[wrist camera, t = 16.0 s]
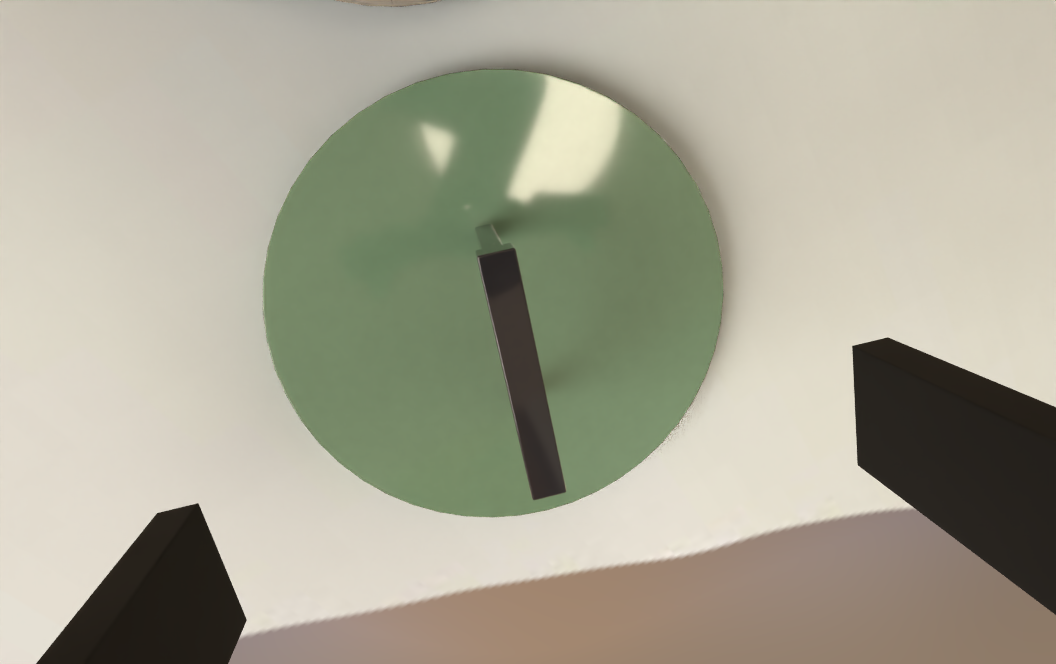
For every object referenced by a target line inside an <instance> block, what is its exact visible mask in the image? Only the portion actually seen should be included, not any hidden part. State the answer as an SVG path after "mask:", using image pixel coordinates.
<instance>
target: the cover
mask: <svg viewBox="0 0 1056 664" xmlns="http://www.w3.org/2000/svg"><path fill="white" fill-rule="evenodd" d="M722 303H723V276H722V263H721V257H720V251H719V246H718V240H717V236H716V233H715V229H714V226H713V223H712V220H711V217H710V214H709V210H708V208H707V206H706V204H705V202H704V200H703V198H702V195H701V193H700V191H699V189H698V187H697V185H696V183H695V181H694V180H693V178H692V177H691V175H690V174H689V172H688V171H687V169H686V168H685V166H684V165H683V163H682V161H681V160H680V158H679V157H678V156H677V155H676V154H675V153H674V151H673V150H672V149H671V148H670V147H669V146H668V145H667V143H666V142H665V141H664V140H663V139H662V138H661V137H660V135H659V134H657V133H656V132H655V131H654V130H653V129H652V128H651V127H649V126H648V125H647V124H646V123H645V122H644V121H642V120H641V119H640V118H639V117H638V116H637V115H635V114H634V113H632V112H631V111H629V110H628V109H626V108H625V107H623V106H622V105H620V104H619V103H617V102H615V101H614V100H612V99H611V98H609V97H607V96H605V95H603V94H601V93H598V92H596V91H594V90H592V89H590V88H588V87H586V86H583V85H581V84H579V83H575V82H572V81H569V80H565V79H562V78H559V77H555V76H552V75H549V74H542V73H536V72H529V71H523V70H516V69H479V70H472V71H464V72H457V73H449V74H445V75H442V76H438V77H435V78H431V79H428V80H424V81H420V82H417V83H414V84H412V85H410V86H408V87H405V88H403V89H401V90H399V91H396V92H394V93H392V94H390V95H387V96H385V97H383V98H382V99H380V100H379V101H377V102H375V103H374V104H372V105H371V106H369V107H367V108H366V109H364V110H363V111H361V112H359V113H358V114H356V115H355V116H354V117H353V118H352V119H350V120H349V121H348V122H347V123H346V124H345V125H343V126H342V127H341V128H340V129H339V130H337V131H336V132H335V133H334V134H333V135H332V136H331V137H330V138H329V139H328V140H327V141H326V142H325V143H324V144H323V146H322V147H321V148H320V149H319V150H318V151H317V152H316V153H315V155H314V156H313V157H312V158H311V159H310V160H309V161H308V163H307V165H306V166H305V168H304V169H303V171H302V172H301V174H300V175H299V177H298V178H297V180H296V181H295V183H294V184H293V186H292V187H291V189H290V191H289V193H288V195H287V198H286V200H285V202H284V204H283V206H282V208H281V210H280V213H279V215H278V217H277V220H276V223H275V226H274V230H273V233H272V236H271V239H270V243H269V246H268V251H267V257H266V264H265V270H264V277H263V315H264V323H265V330H266V338H267V343H268V346H269V350H270V353H271V357H272V361H273V364H274V368H275V371H276V373H277V375H278V378H279V380H280V382H281V385H282V387H283V389H284V391H285V394H286V396H287V398H288V399H289V401H290V403H291V404H292V406H293V408H294V409H295V411H296V413H297V414H298V416H299V418H300V419H301V421H302V422H303V424H304V425H305V426H306V427H307V429H308V430H309V431H310V432H311V434H312V435H313V436H314V437H315V439H316V440H317V441H318V442H319V444H320V445H322V446H323V447H324V448H325V449H326V450H327V451H328V452H329V453H330V454H331V455H332V456H333V457H334V458H335V459H336V460H337V461H338V462H339V463H340V464H342V465H343V466H344V467H346V468H347V469H348V470H350V471H351V472H352V473H354V474H355V475H356V476H358V477H359V478H360V479H362V480H363V481H365V482H367V483H369V484H370V485H372V486H374V487H376V488H377V489H379V490H381V491H383V492H384V493H386V494H388V495H391V496H393V497H396V498H398V499H400V500H403V501H405V502H408V503H410V504H412V505H416V506H419V507H423V508H427V509H430V510H434V511H437V512H442V513H449V514H455V515H461V516H473V517H504V516H518V515H524V514H530V513H535V512H540V511H545V510H549V509H552V508H556V507H559V506H562V505H565V504H568V503H572V502H574V501H576V500H579V499H581V498H583V497H586V496H588V495H590V494H592V493H595V492H597V491H599V490H600V489H602V488H604V487H606V486H607V485H609V484H611V483H612V482H614V481H616V480H618V479H619V478H621V477H622V476H623V475H625V474H626V473H628V472H629V471H630V470H632V469H633V468H634V467H636V466H637V465H638V464H640V463H641V462H642V461H643V460H644V459H645V458H646V457H647V456H649V455H650V454H651V453H652V452H653V451H654V450H655V449H656V448H657V447H658V446H659V445H660V444H661V443H662V442H663V441H664V440H665V438H666V437H667V436H668V435H669V434H670V432H671V431H672V430H673V429H674V428H675V427H676V425H677V424H678V423H679V422H680V420H681V418H682V417H683V415H684V414H685V412H686V411H687V409H688V408H689V406H690V405H691V403H692V402H693V400H694V398H695V396H696V394H697V392H698V390H699V388H700V386H701V384H702V382H703V380H704V378H705V376H706V373H707V371H708V368H709V365H710V362H711V359H712V356H713V354H714V351H715V347H716V342H717V338H718V333H719V328H720V324H721V315H722Z"/></svg>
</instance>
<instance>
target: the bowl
mask: <svg viewBox="0 0 1056 664" xmlns="http://www.w3.org/2000/svg"><path fill="white" fill-rule="evenodd" d="M336 1H341V2H348V3H354V4H360V5H366V6H390V7H392V6H395V7H402V6H410V5H418V4H426V3H433V2H437V1H440V0H336Z"/></svg>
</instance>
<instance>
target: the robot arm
mask: <svg viewBox="0 0 1056 664" xmlns="http://www.w3.org/2000/svg"><path fill="white" fill-rule="evenodd" d="M852 348H853V370H854V393H855V415H856V437H857V460H858V466H860V467H861V468H862V469H864V470H865V471H866V472H868V473H869V474H870V475H872V476H873V477H874V478H876V479H877V480H878V481H879V482H881V483H882V484H883V485H885V486H886V487H887V488H889V489H890V490H891V491H893V492H894V493H895V494H897V495H898V496H899V497H901V498H902V499H903V500H905V501H906V502H907V503H909V504H910V505H911V506H913V507H914V508H915V509H917V510H918V511H919V512H920V513H922V514H923V515H924V516H926V517H927V518H928V519H930V520H931V521H933V522H934V523H935V524H936V525H938V526H939V527H941V528H942V529H943V530H945V531H946V532H947V533H948V534H950V535H951V536H952V537H954V538H955V539H956V540H958V541H959V542H960V543H962V544H963V545H964V546H965V547H967V548H968V549H970V550H971V551H972V552H973V553H975V554H976V555H978V556H979V557H980V558H981V559H983V560H984V561H985V562H987V563H988V564H989V565H991V566H992V567H993V568H995V569H996V570H997V571H998V572H1000V573H1001V574H1002V575H1004V576H1005V577H1006V578H1008V579H1009V580H1010V581H1012V582H1013V583H1014V584H1016V585H1017V586H1018V587H1020V588H1021V589H1022V590H1024V591H1025V592H1026V593H1028V594H1029V595H1030V596H1032V597H1033V598H1034V599H1036V600H1037V601H1038V602H1040V603H1041V604H1042V605H1044V606H1045V607H1046V608H1047V609H1049V610H1050V611H1051V612H1053V613H1054V614H1055V615H1056V407H1054V406H1051V405H1049V404H1047V403H1044V402H1042V401H1039V400H1037V399H1034V398H1032V397H1030V396H1027V395H1025V394H1022V393H1020V392H1018V391H1015V390H1013V389H1010V388H1008V387H1006V386H1003V385H1001V384H998V383H996V382H994V381H991V380H989V379H986V378H984V377H982V376H979V375H977V374H974V373H972V372H970V371H967V370H965V369H962V368H960V367H958V366H955V365H953V364H950V363H948V362H946V361H943V360H941V359H938V358H936V357H933V356H931V355H929V354H926V353H924V352H921V351H919V350H917V349H914V348H912V347H909V346H907V345H905V344H902V343H900V342H897V341H895V340H893V339H890V338H884V339H880V340H876V341H871V342H867V343H863V344H859V345H855V346H852ZM246 621H247V620H246V617H245V615H244V612H243V610H242V607H241V605H240V603H239V600H238V598H237V595H236V593H235V591H234V588H233V586H232V583H231V581H230V579H229V576H228V574H227V571H226V569H225V566H224V564H223V562H222V559H221V557H220V554H219V552H218V550H217V547H216V545H215V542H214V540H213V537H212V535H211V533H210V530H209V528H208V525H207V523H206V521H205V518H204V516H203V513H202V511H201V509H200V506H199V504H194V505H189V506H185V507H181V508H177V509H173V510H169V511H164V512H160V513H157V514H156V515H155V517H154V518H153V519H152V520H151V522H150V523H149V524H148V525H147V527H146V528H145V529H144V530H143V532H142V533H141V534H140V535H139V537H138V538H137V539H136V540H135V542H134V543H133V544H132V545H131V546H130V548H129V549H128V550H127V551H126V553H125V554H124V555H123V556H122V558H121V559H120V560H119V561H118V563H117V564H116V565H115V566H114V568H113V569H112V570H111V571H110V573H109V574H108V575H107V576H106V578H105V579H104V580H103V581H102V583H101V584H100V585H99V586H98V588H97V589H96V590H95V591H94V592H93V594H92V595H91V596H90V597H89V599H88V600H87V601H86V602H85V604H84V605H83V606H82V607H81V609H80V610H79V611H78V612H77V614H76V615H75V616H74V617H73V619H72V620H71V621H70V622H69V624H68V625H67V626H66V627H65V629H64V630H63V631H62V632H61V633H60V635H59V636H58V637H57V638H56V640H55V641H54V642H53V643H52V645H51V646H50V647H49V648H48V650H47V651H46V652H45V653H44V655H43V656H42V657H41V658H40V660H39V661H38V662H37V663H36V664H228V662H229V660H230V658H231V655H232V653H233V651H234V648H235V646H236V644H237V642H238V639H239V637H240V635H241V632H242V630H243V628H244V625H245V623H246Z"/></svg>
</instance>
